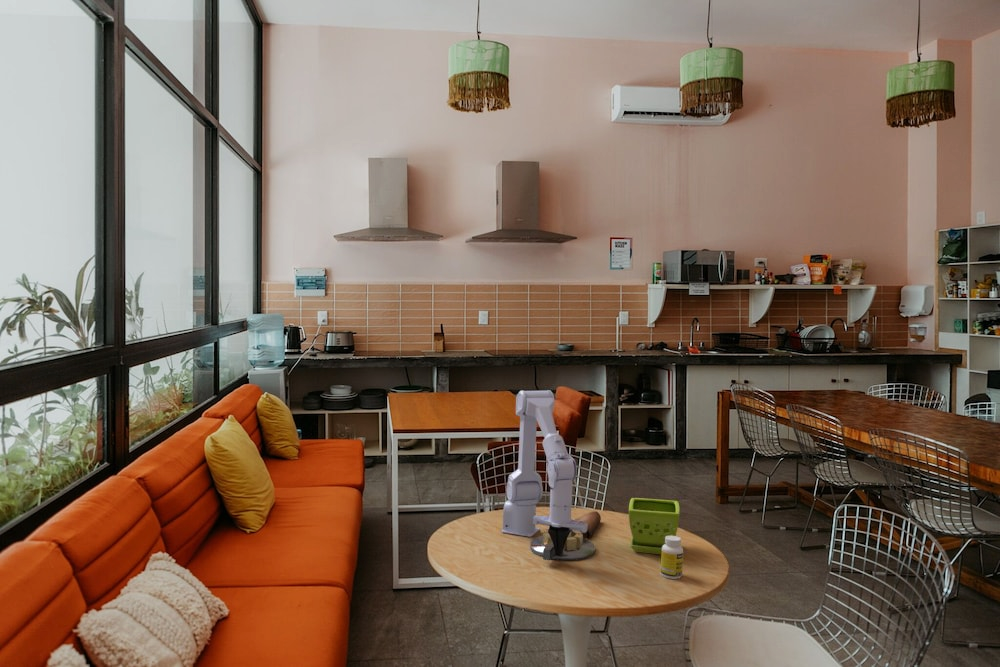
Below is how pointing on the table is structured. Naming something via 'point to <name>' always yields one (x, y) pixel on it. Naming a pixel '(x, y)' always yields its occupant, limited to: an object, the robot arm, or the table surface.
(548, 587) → the table surface
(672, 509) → the flower pot
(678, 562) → the supplement bottle
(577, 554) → the grey round disc
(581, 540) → the gear with bar handle
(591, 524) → the sunglasses case
